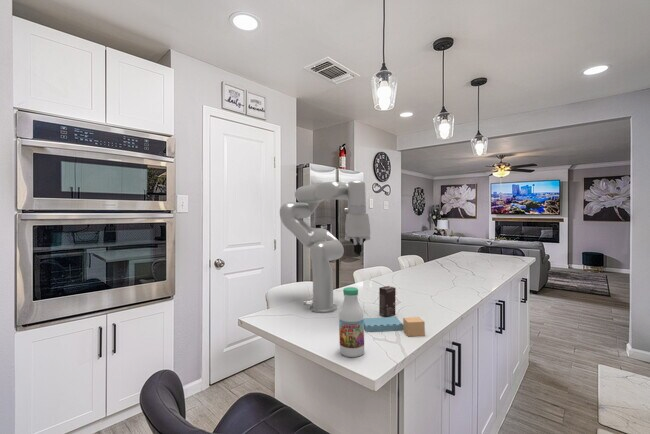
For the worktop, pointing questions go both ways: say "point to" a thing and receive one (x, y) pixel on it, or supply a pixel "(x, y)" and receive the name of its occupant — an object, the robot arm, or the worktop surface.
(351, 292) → the milk bottle
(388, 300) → the box
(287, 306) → the worktop surface
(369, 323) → the blue flat block
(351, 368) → the worktop surface
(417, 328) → the tan block
